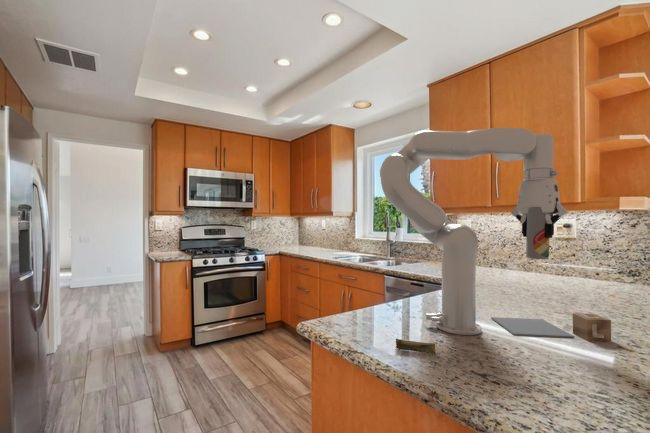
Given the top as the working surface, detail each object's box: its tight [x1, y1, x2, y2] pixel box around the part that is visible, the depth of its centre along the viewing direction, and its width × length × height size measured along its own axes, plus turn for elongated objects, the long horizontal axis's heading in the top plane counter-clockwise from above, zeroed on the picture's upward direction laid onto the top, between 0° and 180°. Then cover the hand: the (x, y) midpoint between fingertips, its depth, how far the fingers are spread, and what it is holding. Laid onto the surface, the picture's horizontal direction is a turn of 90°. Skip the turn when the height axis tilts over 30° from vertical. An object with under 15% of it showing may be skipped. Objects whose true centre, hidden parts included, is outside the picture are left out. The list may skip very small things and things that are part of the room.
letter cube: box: [572, 312, 612, 343], centre depth 90 cm, size 6×6×6 cm
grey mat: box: [490, 316, 575, 339], centre depth 99 cm, size 16×16×1 cm
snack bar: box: [395, 338, 436, 355], centre depth 79 cm, size 10×2×3 cm, turn 70°
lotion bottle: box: [525, 207, 550, 260], centre depth 95 cm, size 6×6×20 cm
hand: (537, 236), depth 95 cm, fingers closed on lotion bottle, 5 cm apart
